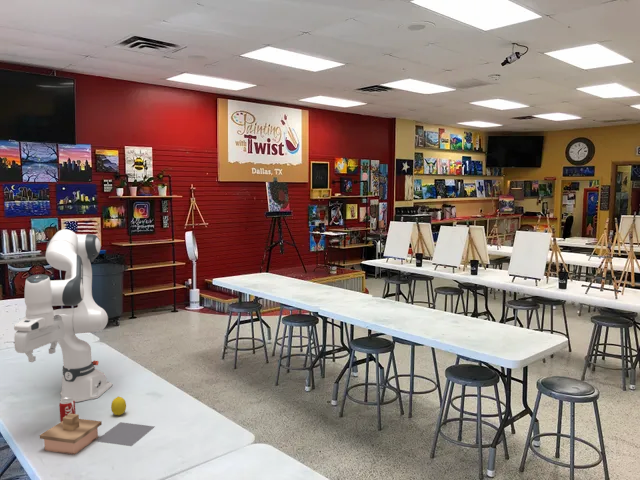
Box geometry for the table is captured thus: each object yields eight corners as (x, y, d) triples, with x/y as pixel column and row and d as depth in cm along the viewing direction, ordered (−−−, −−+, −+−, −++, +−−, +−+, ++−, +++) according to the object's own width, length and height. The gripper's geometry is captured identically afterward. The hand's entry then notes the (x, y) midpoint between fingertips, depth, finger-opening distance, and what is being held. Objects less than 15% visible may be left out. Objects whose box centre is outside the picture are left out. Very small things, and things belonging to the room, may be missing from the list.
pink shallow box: (69, 435, 187) (69, 422, 187) (97, 438, 184) (97, 425, 184) (44, 451, 176) (44, 437, 175) (74, 455, 173) (73, 441, 172)
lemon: (111, 414, 204) (110, 395, 203) (126, 411, 206) (125, 393, 206) (111, 420, 199) (110, 400, 198) (126, 417, 201) (126, 398, 200)
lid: (68, 420, 188) (68, 405, 187) (101, 424, 185) (100, 409, 184) (39, 438, 175) (38, 423, 174) (74, 443, 171) (73, 427, 171)
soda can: (78, 426, 194) (77, 396, 192) (72, 433, 188) (70, 402, 187) (64, 427, 193) (63, 396, 192) (58, 433, 188) (56, 402, 187)
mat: (120, 423, 196) (120, 422, 196) (155, 427, 193) (155, 426, 193) (94, 442, 182) (94, 441, 182) (131, 447, 178) (131, 446, 178)
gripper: (54, 312, 195) (56, 347, 196) (9, 327, 175) (12, 366, 176) (68, 313, 193) (70, 349, 195) (25, 328, 173) (27, 367, 175)
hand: (42, 357), depth 185 cm, fingers open, 8 cm apart
